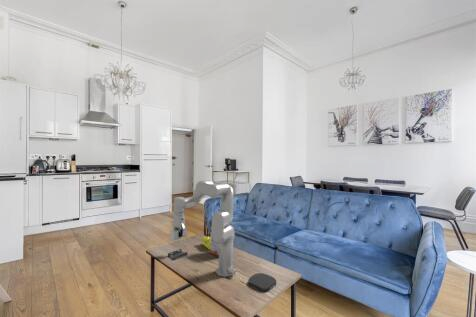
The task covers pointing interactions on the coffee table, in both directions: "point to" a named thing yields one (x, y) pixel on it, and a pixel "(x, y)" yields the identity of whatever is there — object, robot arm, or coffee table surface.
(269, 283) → the media streaming box
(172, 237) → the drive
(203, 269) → the coffee table surface
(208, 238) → the yellow toy chassis
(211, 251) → the cracker box
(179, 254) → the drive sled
